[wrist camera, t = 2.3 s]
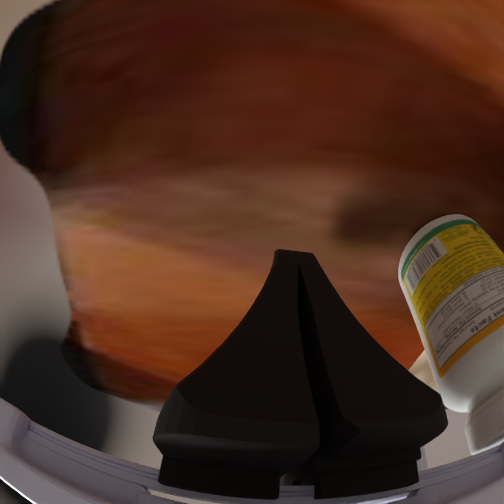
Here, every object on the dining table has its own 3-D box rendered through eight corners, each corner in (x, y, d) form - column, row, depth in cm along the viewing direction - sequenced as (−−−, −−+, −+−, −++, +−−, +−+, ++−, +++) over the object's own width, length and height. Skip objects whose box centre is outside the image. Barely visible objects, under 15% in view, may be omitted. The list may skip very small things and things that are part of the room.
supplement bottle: (390, 226, 12) (478, 438, 4) (485, 199, 11) (603, 356, 3) (397, 307, 15) (440, 473, 7) (476, 280, 13) (542, 423, 6)
